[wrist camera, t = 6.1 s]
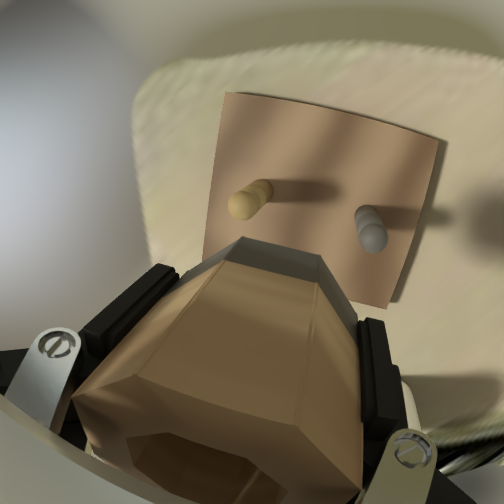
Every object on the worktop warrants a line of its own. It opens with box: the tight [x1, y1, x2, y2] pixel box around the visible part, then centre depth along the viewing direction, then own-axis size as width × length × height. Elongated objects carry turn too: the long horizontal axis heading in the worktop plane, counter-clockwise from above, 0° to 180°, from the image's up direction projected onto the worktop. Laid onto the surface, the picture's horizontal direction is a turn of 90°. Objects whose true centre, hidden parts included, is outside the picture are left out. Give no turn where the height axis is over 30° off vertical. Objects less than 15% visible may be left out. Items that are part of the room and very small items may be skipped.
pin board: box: [202, 92, 439, 309], centre depth 21 cm, size 16×14×7 cm
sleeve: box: [71, 236, 363, 504], centre depth 8 cm, size 6×6×6 cm
